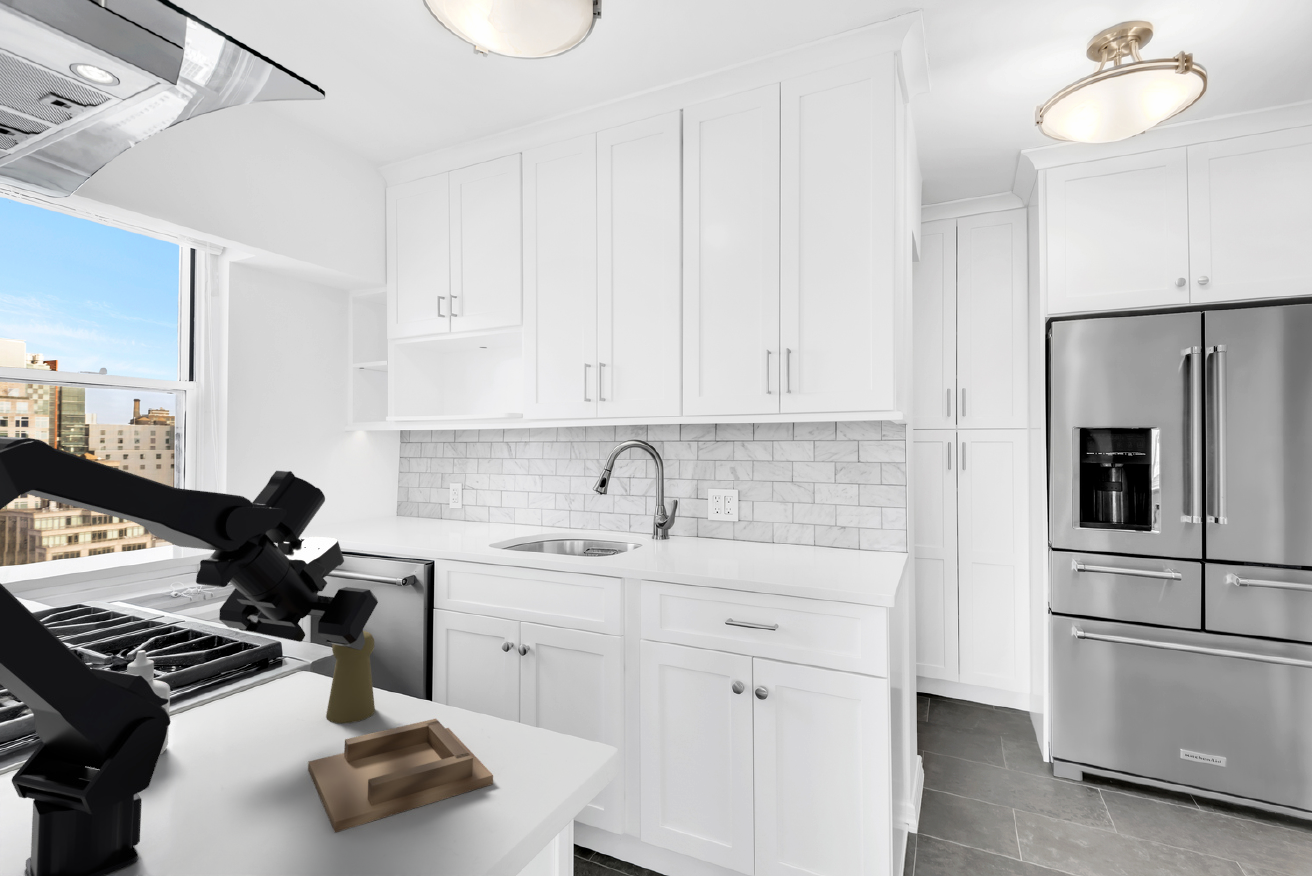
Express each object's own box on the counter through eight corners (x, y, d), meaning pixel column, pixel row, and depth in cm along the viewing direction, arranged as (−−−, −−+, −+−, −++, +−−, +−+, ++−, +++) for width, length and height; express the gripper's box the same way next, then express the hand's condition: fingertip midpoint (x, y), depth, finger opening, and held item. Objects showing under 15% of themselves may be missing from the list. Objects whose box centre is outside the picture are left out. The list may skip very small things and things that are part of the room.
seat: (334, 832, 62) (336, 801, 62) (308, 770, 73) (309, 743, 73) (492, 784, 72) (493, 756, 72) (448, 735, 83) (448, 712, 83)
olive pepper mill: (356, 725, 85) (359, 641, 85) (315, 720, 86) (319, 637, 86) (384, 707, 91) (387, 628, 91) (346, 702, 92) (349, 624, 92)
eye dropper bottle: (145, 765, 73) (149, 658, 73) (96, 763, 73) (101, 656, 73) (175, 747, 77) (179, 646, 77) (129, 744, 78) (133, 644, 78)
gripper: (370, 524, 77) (422, 595, 88) (243, 513, 82) (307, 582, 92) (317, 606, 69) (382, 674, 80) (180, 589, 74) (258, 655, 85)
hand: (331, 642), depth 85 cm, fingers open, 9 cm apart
